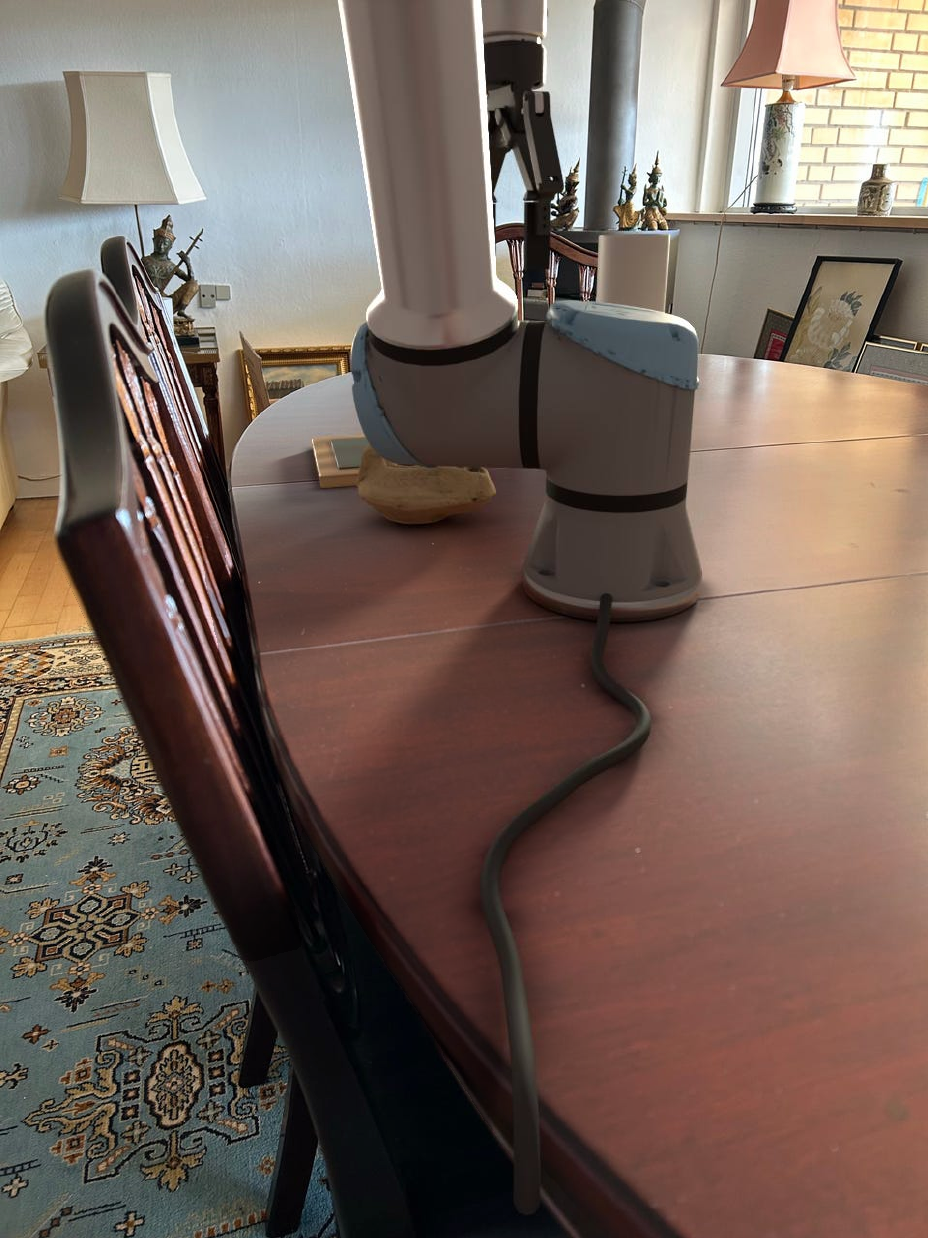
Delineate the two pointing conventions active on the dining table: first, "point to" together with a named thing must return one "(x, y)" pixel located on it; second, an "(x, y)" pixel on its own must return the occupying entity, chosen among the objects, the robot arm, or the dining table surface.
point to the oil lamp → (421, 489)
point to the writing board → (338, 459)
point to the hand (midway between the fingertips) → (508, 267)
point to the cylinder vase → (633, 270)
